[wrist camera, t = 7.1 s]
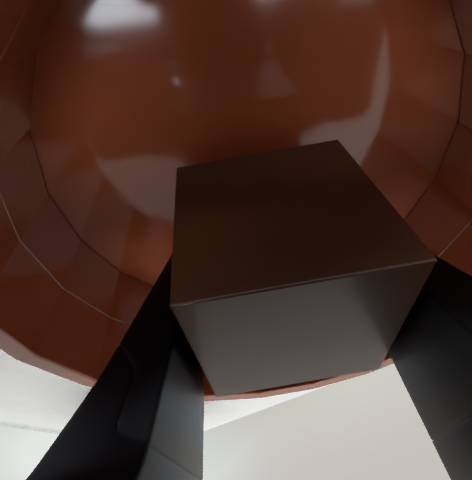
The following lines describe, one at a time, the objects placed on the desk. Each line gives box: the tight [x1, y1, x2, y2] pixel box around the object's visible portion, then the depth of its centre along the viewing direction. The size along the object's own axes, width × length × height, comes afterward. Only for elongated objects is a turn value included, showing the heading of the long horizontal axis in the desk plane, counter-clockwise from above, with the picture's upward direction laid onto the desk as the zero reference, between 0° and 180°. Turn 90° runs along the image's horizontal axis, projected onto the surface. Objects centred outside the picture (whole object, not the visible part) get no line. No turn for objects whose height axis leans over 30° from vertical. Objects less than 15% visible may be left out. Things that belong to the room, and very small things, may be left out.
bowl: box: [0, 0, 472, 401], centre depth 9 cm, size 15×15×5 cm
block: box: [170, 140, 437, 397], centre depth 8 cm, size 4×4×4 cm
